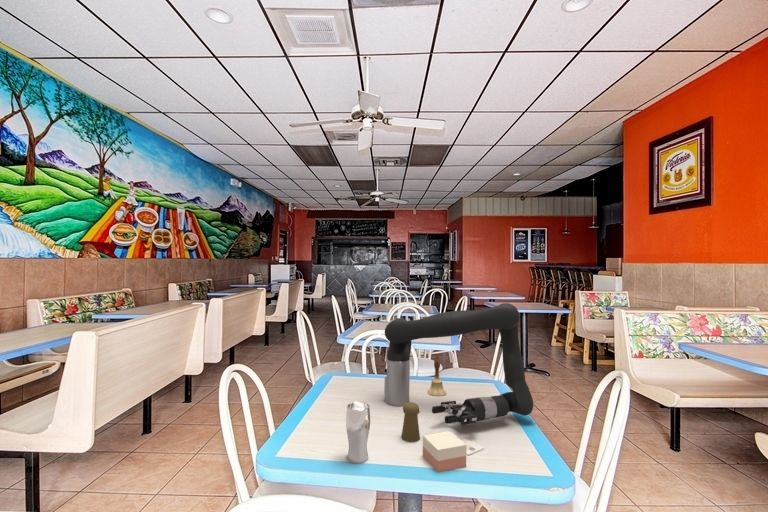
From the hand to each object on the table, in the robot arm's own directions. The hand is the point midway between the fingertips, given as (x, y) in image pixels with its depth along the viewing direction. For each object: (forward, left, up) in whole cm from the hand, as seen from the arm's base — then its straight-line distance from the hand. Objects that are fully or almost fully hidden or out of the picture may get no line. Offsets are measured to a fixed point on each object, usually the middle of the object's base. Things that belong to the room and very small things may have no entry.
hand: (438, 415), depth 128 cm
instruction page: (+10, -3, -6) cm, 12 cm away
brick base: (+9, -15, -6) cm, 19 cm away
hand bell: (-18, +35, -6) cm, 40 cm away
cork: (-6, -8, -6) cm, 12 cm away
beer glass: (-12, -28, -6) cm, 31 cm away
